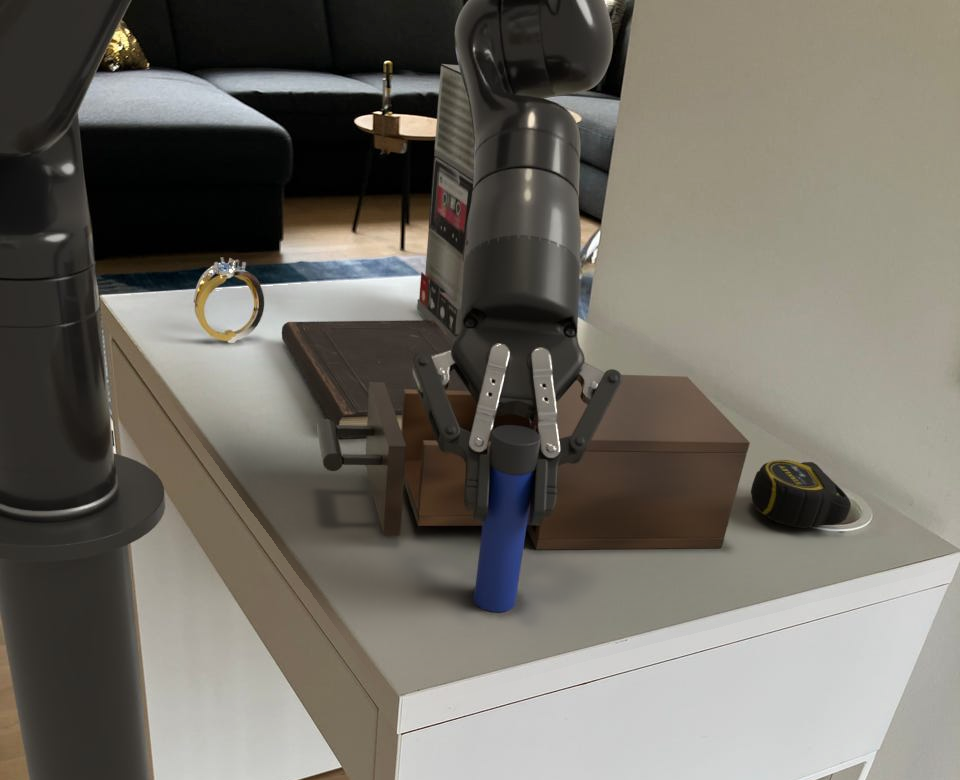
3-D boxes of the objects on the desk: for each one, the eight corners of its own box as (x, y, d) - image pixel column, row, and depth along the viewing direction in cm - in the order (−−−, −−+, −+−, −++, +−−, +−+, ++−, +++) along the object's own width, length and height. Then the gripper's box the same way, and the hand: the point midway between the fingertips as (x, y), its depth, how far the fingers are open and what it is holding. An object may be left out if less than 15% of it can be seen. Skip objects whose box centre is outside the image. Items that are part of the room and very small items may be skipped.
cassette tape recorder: (414, 311, 120) (432, 63, 106) (465, 311, 122) (489, 67, 108) (457, 355, 110) (483, 86, 96) (511, 353, 112) (544, 90, 98)
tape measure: (845, 537, 85) (859, 495, 82) (765, 536, 83) (777, 493, 81) (809, 497, 90) (822, 457, 88) (734, 495, 89) (745, 454, 87)
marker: (477, 613, 70) (497, 444, 63) (468, 589, 72) (487, 423, 65) (521, 612, 70) (546, 445, 64) (511, 588, 73) (534, 424, 66)
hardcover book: (432, 341, 112) (433, 319, 111) (511, 430, 95) (514, 406, 94) (281, 344, 107) (281, 321, 106) (336, 439, 90) (337, 413, 88)
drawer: (324, 535, 74) (327, 445, 70) (312, 463, 83) (314, 380, 79) (566, 534, 78) (581, 448, 74) (529, 465, 87) (541, 386, 83)
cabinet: (536, 549, 78) (553, 439, 73) (499, 472, 88) (512, 371, 83) (722, 548, 81) (750, 442, 76) (665, 473, 91) (687, 376, 86)
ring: (257, 333, 109) (256, 253, 104) (269, 344, 107) (269, 263, 102) (190, 339, 106) (187, 256, 101) (201, 350, 103) (197, 266, 99)
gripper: (415, 220, 64) (396, 491, 61) (642, 242, 66) (635, 510, 62) (411, 283, 72) (394, 528, 69) (615, 302, 73) (608, 545, 70)
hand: (509, 518), depth 65 cm, fingers closed on marker, 3 cm apart
